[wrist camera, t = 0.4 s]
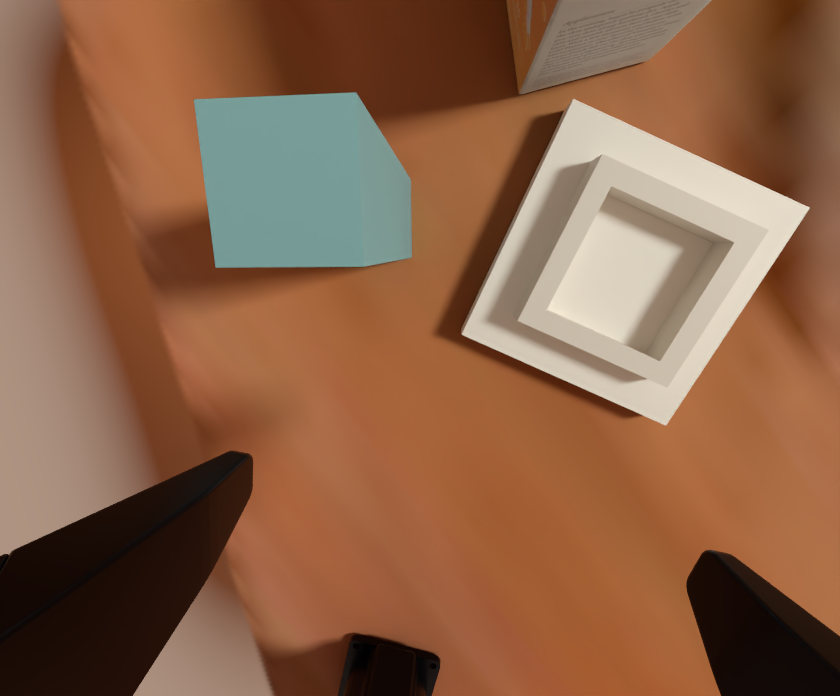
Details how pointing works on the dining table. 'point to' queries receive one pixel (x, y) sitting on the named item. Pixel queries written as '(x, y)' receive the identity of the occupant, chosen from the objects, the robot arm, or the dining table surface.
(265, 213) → the pillar
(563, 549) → the dining table surface
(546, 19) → the small box
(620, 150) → the plinth
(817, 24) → the dining table surface
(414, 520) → the dining table surface
